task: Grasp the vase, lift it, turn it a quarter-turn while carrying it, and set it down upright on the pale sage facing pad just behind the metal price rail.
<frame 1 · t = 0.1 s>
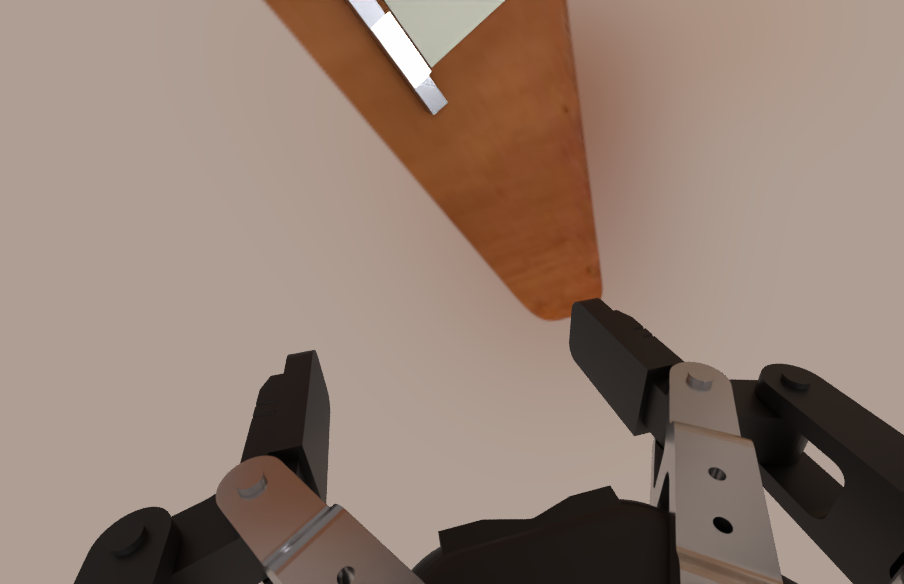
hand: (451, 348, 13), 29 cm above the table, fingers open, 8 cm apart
price rail: (379, 31, 33), on the table
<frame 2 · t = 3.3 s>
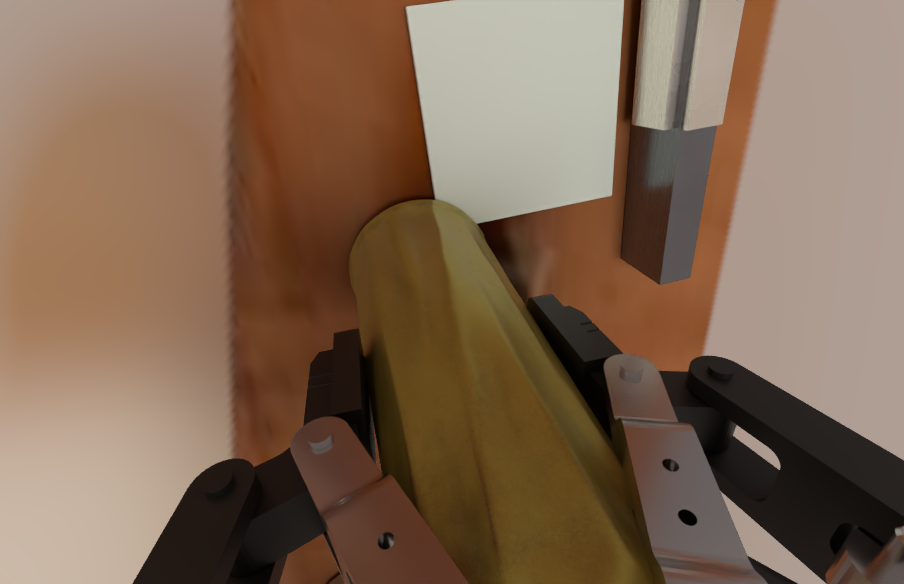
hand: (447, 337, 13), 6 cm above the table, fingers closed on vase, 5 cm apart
vase: (419, 262, 18), on the table, touching facing pad, gripper
facing pad: (521, 114, 17), on the table
price rail: (648, 105, 18), on the table
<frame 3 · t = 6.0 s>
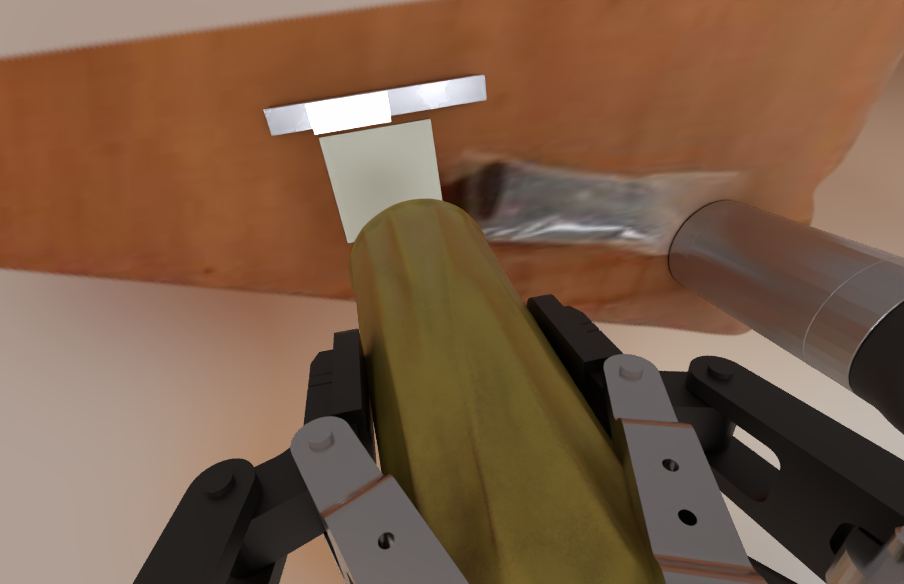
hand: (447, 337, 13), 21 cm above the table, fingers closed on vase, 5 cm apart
vase: (419, 261, 18), point 15 cm above the table, touching gripper
facing pad: (386, 183, 32), on the table
price rail: (377, 101, 29), on the table
when the fingers open (8 cm above the table, at t = 9.0 s): vase drops 2 cm, resting on facing pad.
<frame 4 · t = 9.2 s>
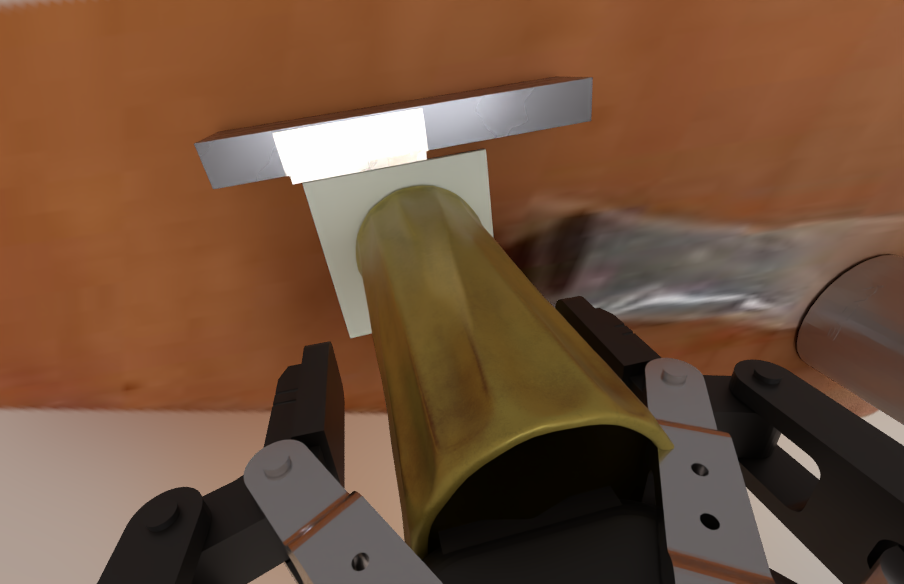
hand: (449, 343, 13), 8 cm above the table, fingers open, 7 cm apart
vase: (420, 247, 20), resting on facing pad
facing pad: (412, 248, 20), on the table
price rail: (400, 122, 17), on the table
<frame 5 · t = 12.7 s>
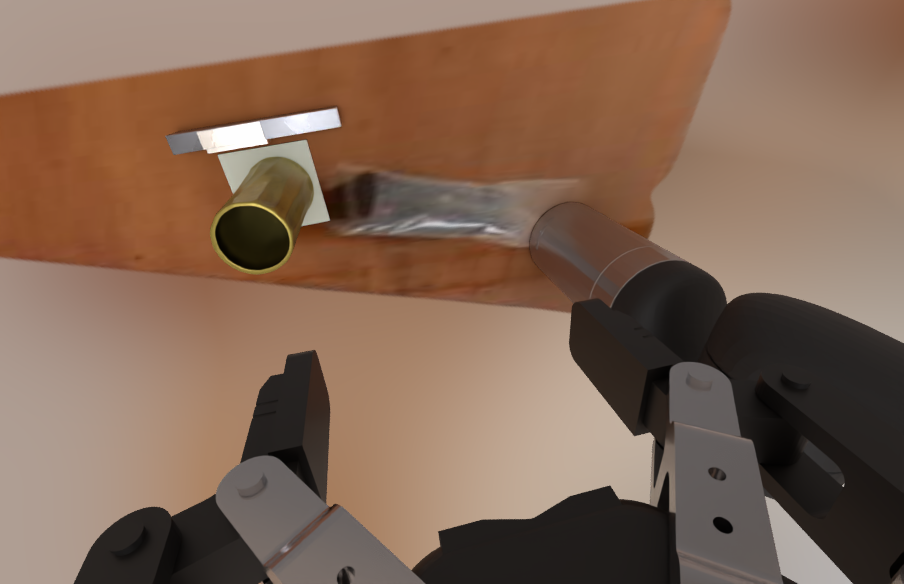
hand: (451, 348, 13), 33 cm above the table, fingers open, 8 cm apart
vase: (281, 188, 41), resting on facing pad
facing pad: (277, 189, 41), on the table
price rail: (262, 127, 38), on the table
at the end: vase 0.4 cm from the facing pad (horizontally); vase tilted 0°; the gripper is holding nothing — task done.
